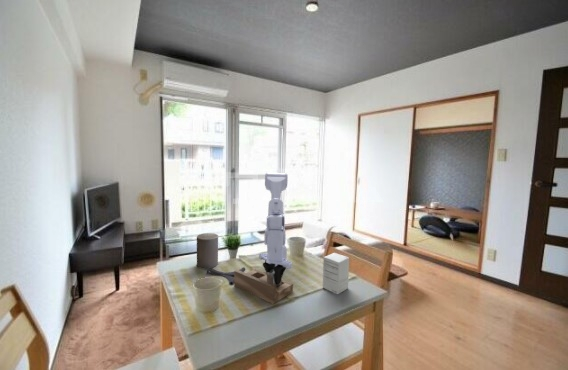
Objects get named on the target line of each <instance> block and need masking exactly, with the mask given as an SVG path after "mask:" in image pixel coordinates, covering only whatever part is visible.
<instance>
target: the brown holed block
mask: <svg viewBox="0 0 568 370" xmlns="http://www.w3.org/2000/svg"><path fill="white" fill-rule="evenodd" d="M239 270H240V269H236V270H234V271H233V272H234V277H233V278H234V284H233V285H234V286H235V287H236V288H238V289H241V290H242V291H245V292H247V293H248V294H252V295H253V296H255V297H257V298H259V299H261V300H264V301H266V302H268V303H270V304H272V305H273V304H275V303H277V302H279V301H281V299H284V298H285V297H286V296H288V295H289V294H291V293H294V283H293V282H289V281H286V280H284V279H282V285H281V286H279V287H277V288H276V286H275V285H273V284H270V283H268V282H267V273H266V272H263V271H262V270H259V269H257V268H255V269H253V270H250V271H248V272H245V271H244V272H242V271H239Z"/></svg>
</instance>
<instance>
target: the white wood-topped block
mask: <svg viewBox="0 0 568 370" xmlns="http://www.w3.org/2000/svg"><path fill="white" fill-rule="evenodd" d="M282 280H283V278H282V279H281V283H280V284H278V285H276V283H275V272H274V269H272V270H270V271H268V272H267V282H268V283H270V284H273V285H275V286H276V288H277V287H279V286H281V285H282Z"/></svg>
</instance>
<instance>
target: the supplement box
mask: <svg viewBox="0 0 568 370" xmlns="http://www.w3.org/2000/svg"><path fill="white" fill-rule="evenodd" d="M322 264H323V266H322V267H323V269H322V270H323V271H322V288H323V289H325V290H327V291H330V292H331V293H333V294H336V295H340V294H341V293H342V292H344V291H346V290H347V289H349V271H350V257H348V256H346V255H342V254H339V253H337V252H332V253H331V254H328V255H326V256H323V263H322Z"/></svg>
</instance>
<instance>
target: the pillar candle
mask: <svg viewBox="0 0 568 370" xmlns="http://www.w3.org/2000/svg"><path fill="white" fill-rule="evenodd" d="M218 264H219V235H218V234H216V233H213V232H205V233H201V234H197V236H196V267H197V268H199V269H203V270H204V269H205V270H206V269H207V270H208V269H209V268H212V269H213V268H215V267H218Z"/></svg>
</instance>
